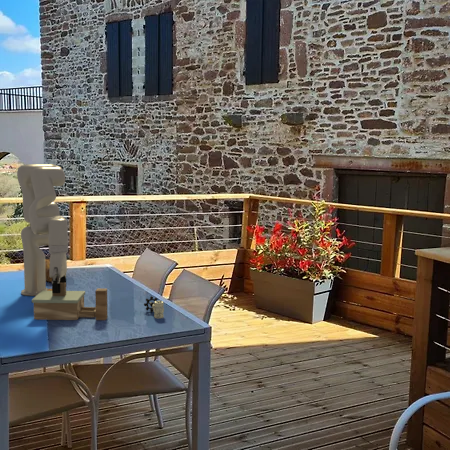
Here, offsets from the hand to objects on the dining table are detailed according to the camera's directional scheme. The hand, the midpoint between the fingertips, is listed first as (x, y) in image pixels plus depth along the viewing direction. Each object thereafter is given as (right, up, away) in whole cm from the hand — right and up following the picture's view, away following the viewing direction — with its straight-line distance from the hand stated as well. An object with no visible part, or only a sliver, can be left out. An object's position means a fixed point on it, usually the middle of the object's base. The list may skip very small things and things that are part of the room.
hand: (59, 290), depth 248 cm
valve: (+39, -11, +4) cm, 41 cm away
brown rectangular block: (+18, -11, -3) cm, 21 cm away
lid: (0, -3, +1) cm, 3 cm away
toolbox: (+3, -10, +2) cm, 11 cm away
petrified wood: (-21, -2, +65) cm, 68 cm away
